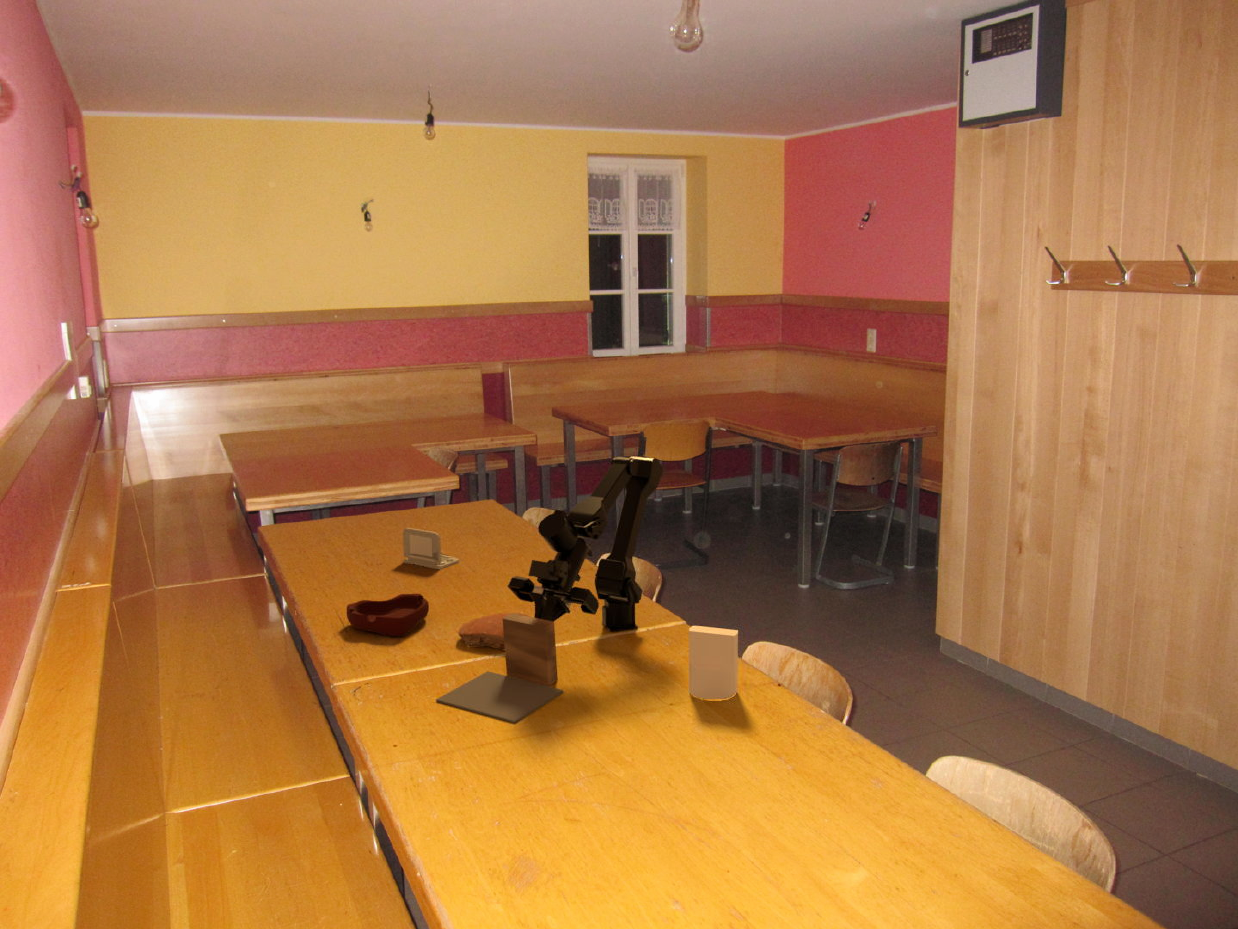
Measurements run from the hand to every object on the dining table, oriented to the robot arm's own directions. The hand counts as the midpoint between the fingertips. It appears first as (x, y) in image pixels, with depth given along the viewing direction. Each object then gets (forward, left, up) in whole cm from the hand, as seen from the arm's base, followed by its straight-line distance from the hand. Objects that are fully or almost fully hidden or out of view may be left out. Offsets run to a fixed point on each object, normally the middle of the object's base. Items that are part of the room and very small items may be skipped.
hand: (535, 633), depth 188 cm
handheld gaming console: (+8, -86, -9) cm, 87 cm away
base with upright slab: (-29, +19, -9) cm, 36 cm away
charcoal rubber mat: (+9, +7, -9) cm, 14 cm away
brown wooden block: (+1, +1, -9) cm, 9 cm away
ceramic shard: (+3, -23, -9) cm, 25 cm away
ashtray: (+24, -38, -9) cm, 45 cm away
